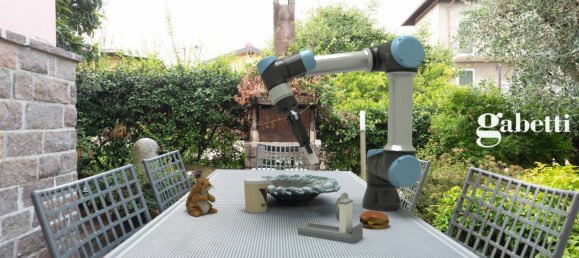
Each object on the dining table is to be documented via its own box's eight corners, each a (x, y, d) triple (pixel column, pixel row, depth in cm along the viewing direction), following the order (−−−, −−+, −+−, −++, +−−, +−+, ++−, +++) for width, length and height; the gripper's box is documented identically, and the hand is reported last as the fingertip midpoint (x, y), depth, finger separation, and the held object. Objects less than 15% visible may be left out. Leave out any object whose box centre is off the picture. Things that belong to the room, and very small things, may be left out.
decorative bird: (333, 221, 145) (333, 199, 145) (337, 211, 161) (337, 192, 160) (349, 222, 144) (349, 200, 144) (351, 212, 159) (352, 192, 159)
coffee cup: (264, 214, 155) (264, 181, 155) (240, 212, 157) (240, 180, 156) (271, 208, 164) (271, 177, 164) (247, 207, 166) (247, 177, 166)
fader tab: (338, 234, 122) (339, 201, 122) (345, 230, 127) (346, 198, 126) (345, 236, 121) (346, 202, 121) (352, 231, 125) (353, 199, 125)
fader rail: (297, 234, 128) (297, 219, 128) (308, 229, 134) (308, 215, 134) (353, 243, 119) (353, 227, 119) (362, 237, 125) (362, 222, 125)
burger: (382, 222, 144) (382, 208, 144) (393, 229, 135) (394, 214, 135) (354, 223, 142) (354, 209, 142) (364, 230, 133) (364, 216, 133)
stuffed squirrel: (196, 217, 149) (196, 180, 148) (177, 211, 159) (177, 176, 159) (220, 213, 156) (220, 178, 155) (200, 207, 166) (200, 174, 166)
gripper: (272, 109, 147) (302, 171, 142) (274, 97, 134) (307, 164, 130) (292, 101, 148) (322, 162, 143) (295, 88, 135) (328, 154, 131)
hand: (314, 163), depth 137 cm, fingers closed
